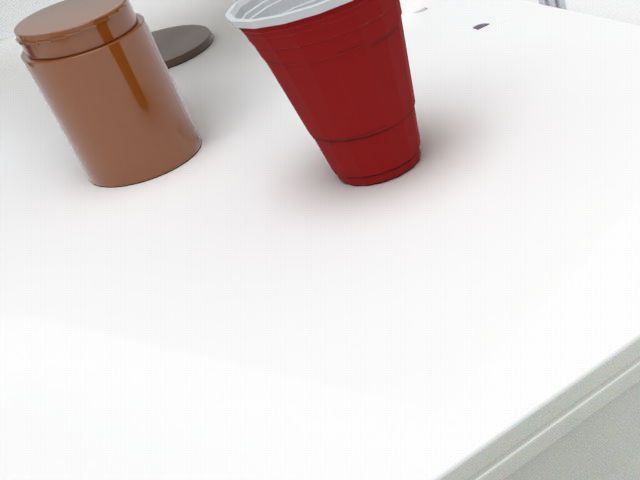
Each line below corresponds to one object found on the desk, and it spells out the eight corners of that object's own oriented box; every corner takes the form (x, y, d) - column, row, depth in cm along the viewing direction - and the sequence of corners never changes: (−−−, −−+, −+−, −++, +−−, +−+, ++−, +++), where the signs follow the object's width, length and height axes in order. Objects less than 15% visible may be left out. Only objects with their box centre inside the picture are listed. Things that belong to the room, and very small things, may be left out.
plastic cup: (366, 122, 77) (302, -55, 69) (487, 132, 73) (434, -57, 65) (264, 197, 71) (181, 12, 63) (389, 214, 66) (316, 15, 58)
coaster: (82, 83, 95) (79, 76, 94) (135, 38, 102) (132, 32, 102) (184, 70, 93) (180, 63, 92) (230, 25, 100) (227, 18, 100)
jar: (67, 192, 77) (-19, 45, 70) (122, 138, 83) (48, -3, 76) (171, 181, 76) (94, 29, 69) (219, 126, 82) (154, -19, 75)
